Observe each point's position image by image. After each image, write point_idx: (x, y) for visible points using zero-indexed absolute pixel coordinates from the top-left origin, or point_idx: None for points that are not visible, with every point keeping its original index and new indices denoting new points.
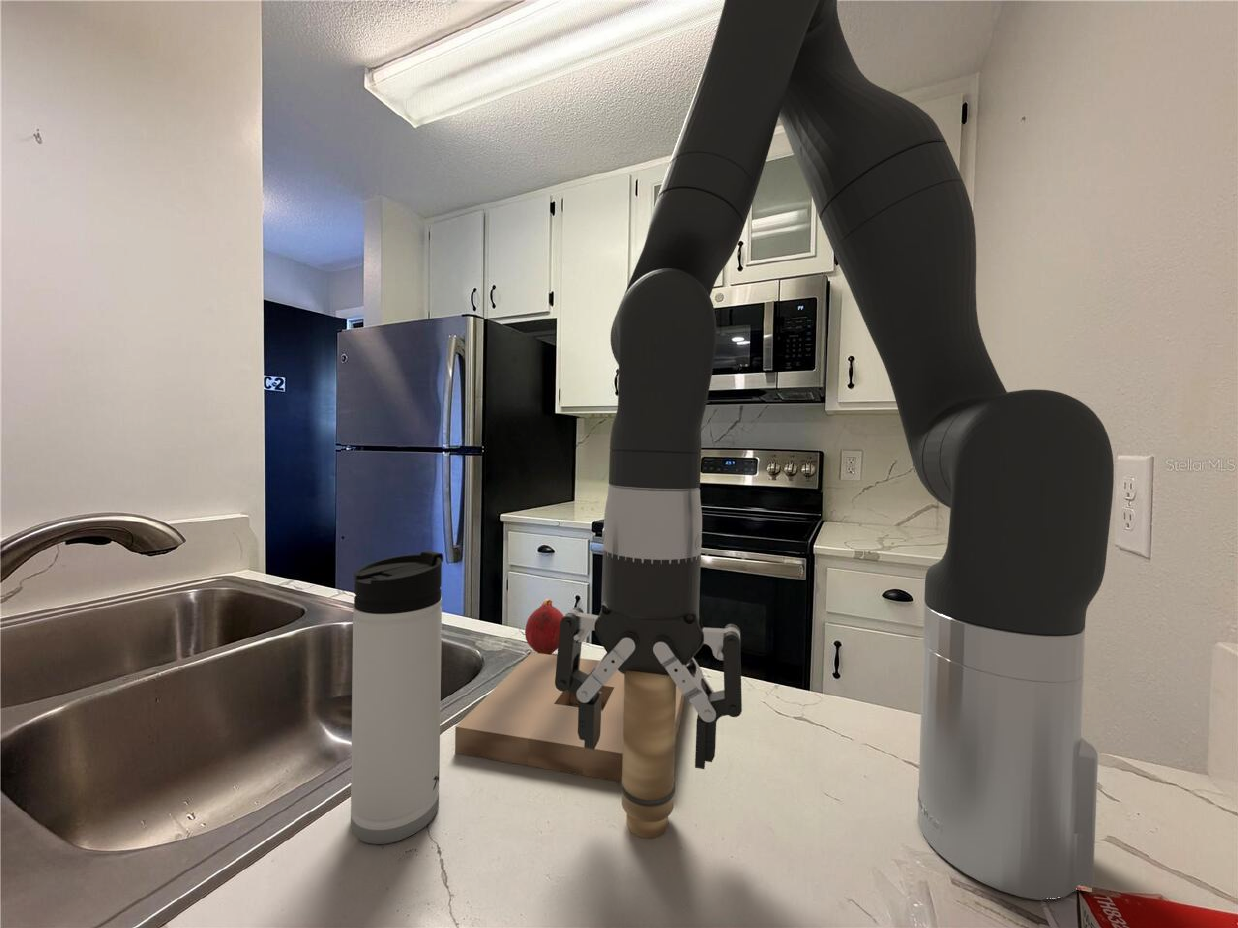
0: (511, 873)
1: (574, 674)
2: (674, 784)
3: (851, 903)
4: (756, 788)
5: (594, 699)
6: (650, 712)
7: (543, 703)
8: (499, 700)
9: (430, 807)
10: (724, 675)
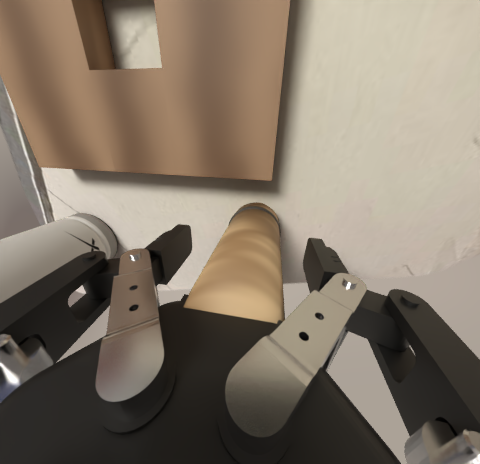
0: (183, 267)
1: (104, 289)
2: (280, 232)
3: (404, 268)
4: (378, 150)
5: (160, 275)
6: None
7: (76, 74)
8: (25, 87)
9: (109, 246)
10: (401, 412)
